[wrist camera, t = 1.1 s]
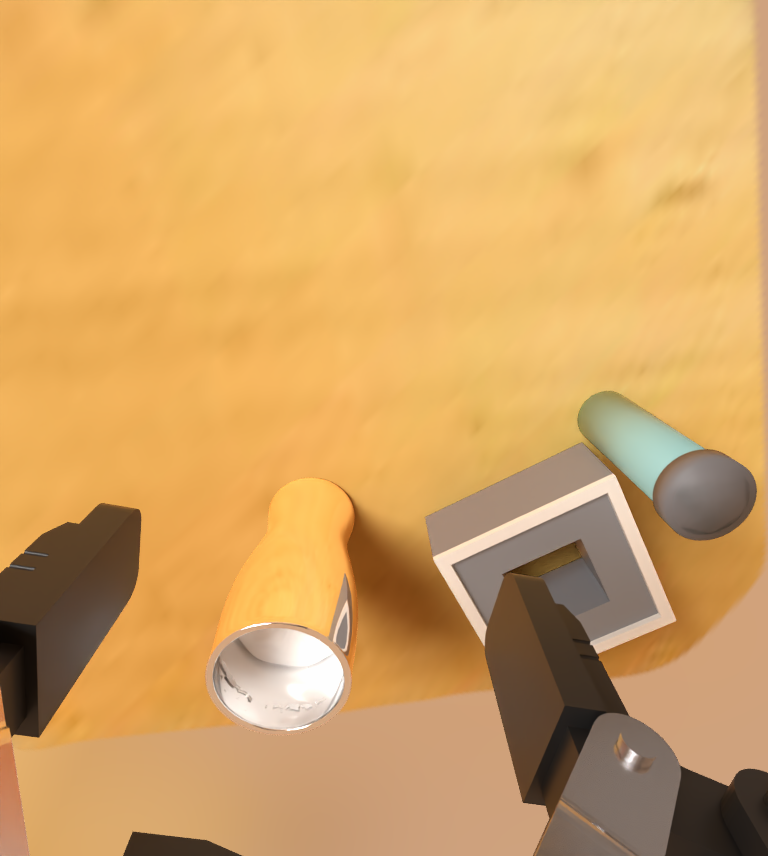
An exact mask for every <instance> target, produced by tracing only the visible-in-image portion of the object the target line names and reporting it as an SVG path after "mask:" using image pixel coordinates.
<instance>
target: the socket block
mask: <svg viewBox="0 0 768 856" xmlns="http://www.w3.org/2000/svg"><path fill="white" fill-rule="evenodd" d="M425 519H426V524H427V529H428V534H429V539H430V544H431V549H432V555H433V560H434V562H435V564H436V565H437V567H438V569H439V571H440V572H441V574H442V576H443V577H444V579H445V581H446V582H447V584H448V586H449V587H450V589H451V591H452V592H453V594H454V596H455V598H456V599H457V601H458V603H459V604H460V606H461V608H462V609H463V611H464V613H465V614H466V616H467V618H468V620H469V621H470V623H471V625H472V626H473V628H474V630H475V631H476V633H477V635H478V636H479V638H480V640H481V642H482V643H483V645H484V647H485V634H486V629H487V626H488V623H489V620H490V617H491V614H492V611H493V608H494V605H495V602H496V599H497V596H498V593H499V590H500V587H501V584H502V581H503V579H504V577H505V575H506V574H507V572H508V571H510V570H512V569H515V568H517V567H519V566H521V565H524V564H526V563H528V562H530V561H532V560H535V559H537V558H539V557H541V556H544V555H546V554H548V553H550V552H552V551H555V550H557V549H559V548H561V547H564V546H566V545H568V544H570V543H572V542H575V544H576V546H577V548H578V550H579V553H580V555H581V557H582V558H580V559H577V560H575V561H573V562H571V563H569V564H566V565H564V566H562V567H560V568H557V569H555V570H553V571H551V572H548V573H546V574H544V575H542V576H539V578H542V579H543V580H544V581H545V583H546V585H547V587H548V589H549V591H550V594H551V596H552V598H553V600H554V602H555V603H556V604H562V605H564V606H565V607H566V608H567V609H568V610H569V611H570V612H571V613H572V614H573V615H574V616H575V617H576V618H577V619H578V620H579V621H580V622H581V624H582V626H583V628H584V630H585V632H586V633H587V635H588V637H589V639H590V641H591V642H590V645H593V647H594V649H595V651H596V653H597V654H598V653H601V652H603V651H606V650H608V649H610V648H613V647H615V646H618V645H620V644H622V643H625V642H627V641H630V640H632V639H634V638H637V637H639V636H642V635H644V634H646V633H649V632H651V631H654V630H656V629H658V628H661V627H663V626H666V625H668V624H670V623H673V622H675V621H676V618H675V616H674V613H673V611H672V609H671V606H670V604H669V602H668V599H667V597H666V594H665V592H664V590H663V587H662V585H661V582H660V580H659V578H658V575H657V573H656V571H655V568H654V566H653V563H652V561H651V559H650V556H649V554H648V552H647V549H646V547H645V544H644V542H643V540H642V537H641V535H640V532H639V530H638V528H637V525H636V523H635V521H634V518H633V516H632V513H631V511H630V509H629V506H628V504H627V502H626V499H625V497H624V494H623V492H622V490H621V487H620V485H619V482H618V480H617V478H616V476H615V475H614V474H613V473H612V472H611V471H610V470H609V469H608V468H607V467H606V466H605V465H604V464H603V463H602V462H601V461H600V460H599V459H598V458H597V457H596V456H595V455H594V454H593V453H592V452H591V451H590V450H589V449H588V448H587V447H586V446H585V445H584V444H583V443H580V444H577V445H575V446H573V447H571V448H569V449H567V450H565V451H563V452H561V453H559V454H556V455H554V456H552V457H550V458H548V459H546V460H544V461H542V462H540V463H538V464H536V465H533V466H531V467H529V468H527V469H525V470H523V471H521V472H519V473H517V474H515V475H512V476H510V477H508V478H506V479H504V480H502V481H500V482H498V483H496V484H494V485H492V486H489V487H487V488H485V489H483V490H481V491H479V492H477V493H475V494H473V495H471V496H468V497H466V498H464V499H462V500H460V501H458V502H456V503H454V504H452V505H450V506H448V507H445V508H443V509H441V510H439V511H437V512H435V513H433V514H431V515H429V516H427V517H425Z"/></svg>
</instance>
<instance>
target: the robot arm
mask: <svg viewBox="0 0 768 856" xmlns="http://www.w3.org/2000/svg"><path fill="white" fill-rule="evenodd" d="M140 533H141V513H140V510H139V509H134V508H128V507H122V506H117V505H111V504H105V503H101V504H99V505H98V506H97V507H96V508H95V509H94V510H93V511H92V512H91V513H90V514H89V515H88V516H87V517H86V518H85V519H84V520H83V521H82V522H81V523H80V524H76V523H70V522H67V523H65V524H63V525H61V526H59V527H56V528H54V529H52V530H50V531H48V532H46V533H44V534H42V535H41V536H40V537H39V538H38V539H37V540H36V541H34V542H33V543H32V544H31V545H30V546H29V547H28V548H27V549H26V550H25V552H24V554H20V555H19V556H18V557H17V558H16V559H15V560H14V561H13V562H12V563H11V564H10V567H9V568H8V567H6V568H5V569H4V570H3V571H2V572H1V573H0V856H30V855H29V849H28V842H27V836H26V830H25V823H24V816H23V811H22V804H21V798H20V791H19V785H18V778H17V771H16V765H15V759H14V752H13V746H12V740H11V738H12V736H13V735H14V734H16V735H23V736H31V737H40V735H41V734H42V732H43V731H44V729H45V728H46V726H47V724H48V723H49V721H50V720H51V718H52V717H53V715H54V714H55V712H56V711H57V709H58V708H59V706H60V705H61V703H62V702H63V700H64V699H65V697H66V696H67V694H68V692H69V691H70V689H71V688H72V686H73V685H74V683H75V682H76V680H77V679H78V677H79V676H80V674H81V673H82V671H83V670H84V668H85V667H86V665H87V664H88V662H89V660H90V659H91V657H92V656H93V654H94V653H95V651H96V650H97V648H98V647H99V645H100V644H101V642H102V641H103V639H104V638H105V636H106V635H107V633H108V632H109V630H110V628H111V627H112V625H113V624H114V622H115V621H116V619H117V618H118V616H119V615H120V613H121V612H122V610H123V609H124V607H125V606H126V604H127V603H128V601H129V599H130V597H131V595H132V593H133V590H134V588H135V585H136V581H137V576H138V569H139V552H140ZM590 642H591V641H590V639H589V637H588V635H587V633H586V632H585V630H584V628H583V626H582V624H581V622H580V621H579V620H578V619H577V618H576V617H575V616H574V615H573V614H572V613H571V612H570V611H569V610H568V609H567V608H566V607H565V606H564V605H562V604H556V603H555V602H554V600H553V598H552V596H551V594H550V591H549V589H548V587H547V585H546V583H545V581H544V580H543V579H542V578H539V577H533V576H527V575H521V574H515V573H507V574H506V575H505V577H504V579H503V581H502V584H501V587H500V590H499V593H498V596H497V599H496V602H495V605H494V608H493V611H492V614H491V617H490V620H489V623H488V626H487V629H486V634H485V656H486V660H487V664H488V668H489V672H490V676H491V680H492V684H493V688H494V691H495V695H496V699H497V703H498V707H499V711H500V715H501V719H502V723H503V727H504V730H505V734H506V738H507V742H508V746H509V750H510V754H511V758H512V761H513V766H514V770H515V774H516V777H517V781H518V785H519V789H520V793H521V797H522V801H523V803H529V804H536V805H544V806H546V808H547V812H548V815H549V818H550V819H549V821H548V823H547V825H546V828H545V830H544V832H543V834H542V837H541V839H540V841H539V843H538V845H537V848H536V850H535V852H534V854H533V856H768V773H767V772H764V771H760V770H756V769H744V770H741V771H739V772H738V773H737V774H736V776H735V777H734V779H733V781H732V782H731V784H730V785H729V786H726V785H724V784H721V783H719V782H717V781H714V780H712V779H710V778H707V777H705V776H702V775H700V774H698V773H695V772H692V771H690V770H688V769H686V768H684V767H682V766H680V765H679V762H678V759H677V757H676V756H675V754H674V752H673V751H672V749H671V748H670V746H669V745H668V744H667V743H666V742H665V741H664V739H663V738H662V737H660V735H659V734H657V733H656V732H655V731H654V730H652V729H651V728H650V727H648V726H647V725H645V724H644V723H642V722H640V721H638V720H637V719H634V718H632V717H630V716H629V715H628V713H627V711H626V709H625V707H624V705H623V703H622V701H621V699H620V697H619V695H618V693H617V691H616V690H615V688H614V686H613V684H612V682H611V680H610V678H609V676H608V674H607V672H606V670H605V668H604V666H603V664H602V662H601V661H599V660H598V658H599V657H598V655H597V653H596V651H595V649H594V647H593V645H590ZM123 856H241V855H239V854H237V853H235V852H232V851H230V850H228V849H226V848H223V847H221V846H218V845H216V844H214V843H212V842H210V841H207V840H200V839H191V838H182V837H174V836H165V835H156V834H147V833H140V832H133V833H132V835H131V837H130V840H129V842H128V845H127V847H126V850H125V853H124V855H123Z"/></svg>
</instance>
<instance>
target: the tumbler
mask: <svg viewBox="0 0 768 856" xmlns="http://www.w3.org/2000/svg"><path fill="white" fill-rule="evenodd" d="M354 520H355V514H354V508H353V505H352V503H351V500H350V499H349V497H348V496H347V494H346V493H345V492H344V491H343V490H342V489H341V488H340V487H338V486H337V485H335V484H333V483H332V482H329V481H327V480H324V479H319V478H302V479H298V480H294V481H292V482H290V483H288V484H286V485H285V486H283V487H282V488H281V489H280V490H279V491H278V492H277V493H276V495H275V496H274V497H273V499H272V501H271V503H270V507H269V511H268V530H267V533H266V535H265V536H264V537H263V539H262V540H261V542H260V543H259V544H258V546H257V547H256V548H255V550H254V551H253V552H252V554H251V555H250V557H249V558H248V559H247V561H246V562H245V564H244V566H243V567H242V569H241V571H240V572H239V574H238V575H237V577H236V579H235V581H234V583H233V585H232V588H231V590H230V592H229V595H228V597H227V599H226V602H225V605H224V608H223V611H222V614H221V617H220V620H219V624H218V627H217V631H216V635H215V639H214V643H213V647H212V651H211V655H210V657H209V659H208V662H207V666H206V672H205V680H206V686H207V690H208V693H209V695H210V697H211V699H212V701H213V702H214V704H215V705H216V707H217V708H218V709H219V710H220V711H221V712H222V713H223V714H224V715H225V716H226V717H227V718H229V719H230V720H231V721H233V722H235V723H236V724H238V725H240V726H242V727H244V728H247V729H249V730H252V731H255V732H259V733H263V734H270V735H292V734H299V733H303V732H307V731H310V730H313V729H315V728H318V727H319V726H322V725H323V724H325V723H326V722H328V721H329V720H331V719H332V718H333V717H334V716H335V715H337V714H338V712H339V711H340V710H341V709H342V708H343V706H344V705H345V703H346V701H347V699H348V697H349V694H350V690H351V683H352V670H353V664H354V657H355V650H356V642H357V629H358V598H357V591H356V584H355V579H354V574H353V570H352V566H351V562H350V558H349V554H348V549H347V542H348V540H349V538H350V535H351V533H352V530H353V526H354Z"/></svg>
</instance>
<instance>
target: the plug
mask: <svg viewBox="0 0 768 856" xmlns="http://www.w3.org/2000/svg"><path fill="white" fill-rule="evenodd" d="M578 427H579V429H580V431H581V433H582V434H583V435H584V436H585V437H586V438H587V439H588V440H589V441H590V442H591V443H592V444H593V445H594V446H595V447H596V448H598V449H599V450H600V451H601V452H602V453H603V454H604V455H605V456H606V457H607V458H608V459H609V460H610V461H611V462H612V463H613V464H614V465H615V466H616V467H617V468H619V469H620V470H621V471H622V472H623V473H624V474H625V475H626V476H627V477H628V478H629V479H630V480H631V481H632V482H633V483H634V484H635V485H636V486H637V487H639V488H640V489H641V490H642V491H643V492H644V493H645V494H646V495H647V496H648V497H649V498H650V499H651V500H652V501H653V504H654V507H655V510H656V512H657V513H658V515H659V516H660V517H661V518H662V519H663V520H664V521H665V522H666V523H667V524H668V525H669V526H670V527H671V528H672V529H673V530H674V531H675V532H676V533H678V534H679V535H681V536H683V537H685V538H688V539H692V540H710V539H715V538H718V537H721V536H723V535H725V534H727V533H729V532H731V531H732V530H734V529H735V528H737V527H738V526H739V525H740V524H741V523H742V522H743V521H744V520H745V519H746V518H747V516H748V515H749V514H750V512H751V510H752V508H753V506H754V503H755V500H756V493H757V489H756V483H755V480H754V477H753V476H752V474H751V472H750V471H749V470H748V469H747V468H746V467H744V466H743V465H741V464H740V463H738V462H737V461H735V460H733V459H732V458H730V457H729V456H727V455H725V454H723V453H721V452H719V451H715V450H708V449H704V448H703V447H701V446H699V445H698V444H696V443H695V442H693V441H692V440H690V439H689V438H687V437H686V436H684V435H683V434H681V433H679V432H678V431H676V430H675V429H673V428H672V427H670V426H669V425H667V424H666V423H664V422H662V421H661V420H659V419H658V418H656V417H655V416H653V415H652V414H650V413H649V412H647V411H646V410H644V409H642V408H641V407H639V406H638V405H636V404H635V403H633V402H632V401H630V400H629V399H627V398H626V397H624V396H622V395H621V394H619V393H616V392H612V391H604V392H600V393H597V394H595V395H593V396H591V397H590V398H589V399H587V400H586V401H585V403H584V404H583V405H582V407H581V409H580V411H579V414H578Z"/></svg>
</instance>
